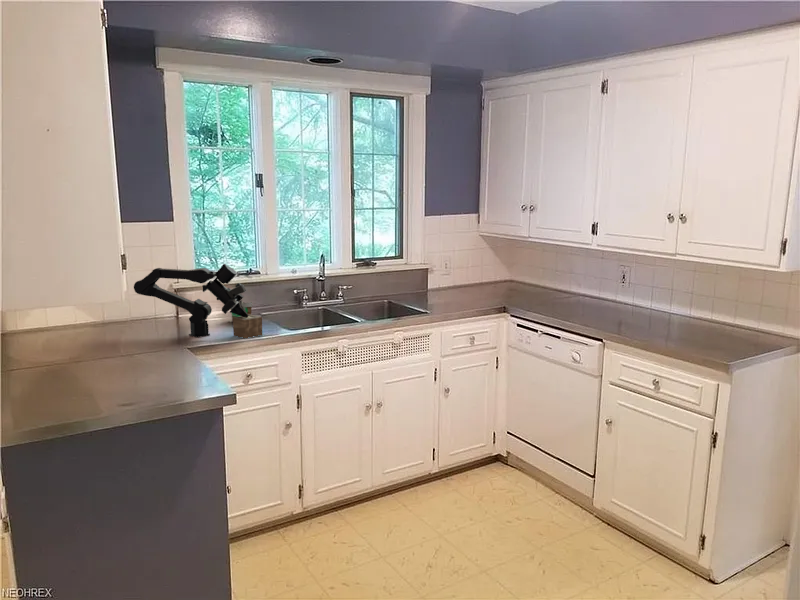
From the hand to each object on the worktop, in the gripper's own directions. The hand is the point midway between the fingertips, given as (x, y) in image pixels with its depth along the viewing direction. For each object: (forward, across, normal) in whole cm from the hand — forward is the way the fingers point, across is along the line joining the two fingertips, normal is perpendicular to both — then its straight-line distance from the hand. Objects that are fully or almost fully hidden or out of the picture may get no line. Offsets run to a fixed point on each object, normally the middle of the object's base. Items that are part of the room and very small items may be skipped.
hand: (247, 316), depth 262 cm
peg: (+5, 0, +6) cm, 8 cm away
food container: (-1, +27, +13) cm, 29 cm away
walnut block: (+6, 0, +6) cm, 8 cm away
